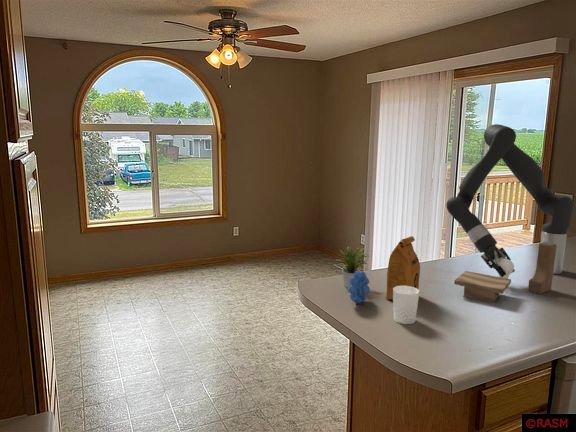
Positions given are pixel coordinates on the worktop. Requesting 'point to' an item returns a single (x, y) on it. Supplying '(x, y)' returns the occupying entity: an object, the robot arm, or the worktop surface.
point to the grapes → (358, 287)
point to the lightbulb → (506, 267)
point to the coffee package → (403, 267)
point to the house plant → (351, 264)
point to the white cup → (405, 304)
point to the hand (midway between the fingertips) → (508, 273)
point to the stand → (482, 285)
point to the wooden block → (543, 269)
